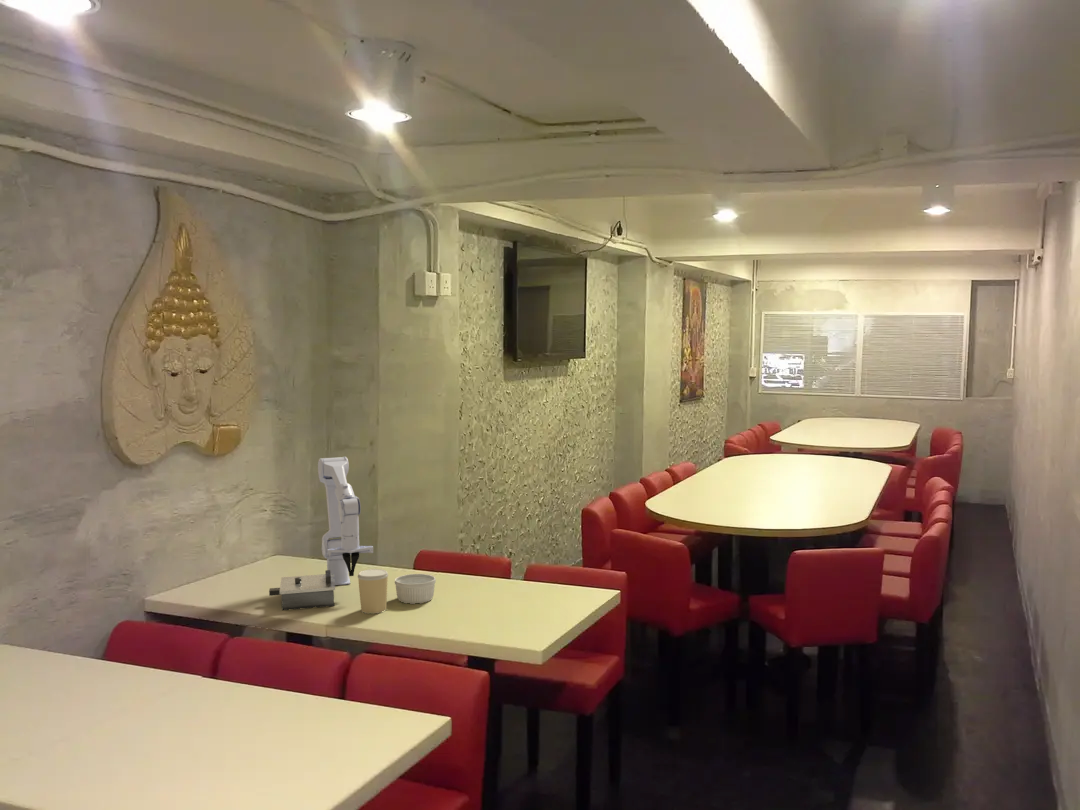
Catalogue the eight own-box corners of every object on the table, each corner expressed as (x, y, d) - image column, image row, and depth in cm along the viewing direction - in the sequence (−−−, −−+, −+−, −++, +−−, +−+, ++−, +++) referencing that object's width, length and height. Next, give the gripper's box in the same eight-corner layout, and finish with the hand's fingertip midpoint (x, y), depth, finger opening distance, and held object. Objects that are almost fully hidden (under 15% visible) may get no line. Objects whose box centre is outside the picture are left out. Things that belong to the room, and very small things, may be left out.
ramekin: (431, 592, 293) (431, 571, 293) (439, 603, 281) (439, 581, 281) (392, 596, 289) (391, 575, 289) (398, 607, 277) (398, 585, 276)
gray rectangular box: (271, 597, 289) (270, 582, 289) (333, 592, 294) (332, 577, 294) (268, 611, 274) (268, 595, 273) (334, 606, 279) (333, 590, 278)
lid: (281, 580, 290) (281, 570, 290) (334, 576, 294) (333, 566, 294) (279, 594, 274) (279, 583, 273) (335, 590, 278) (334, 579, 278)
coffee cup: (392, 605, 278) (391, 568, 277) (384, 615, 269) (383, 576, 268) (363, 605, 279) (362, 568, 278) (354, 614, 270) (353, 576, 269)
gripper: (327, 538, 281) (328, 580, 282) (373, 535, 284) (374, 576, 285) (327, 534, 288) (328, 574, 289) (372, 531, 291) (373, 571, 292)
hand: (351, 575), depth 287 cm, fingers closed
